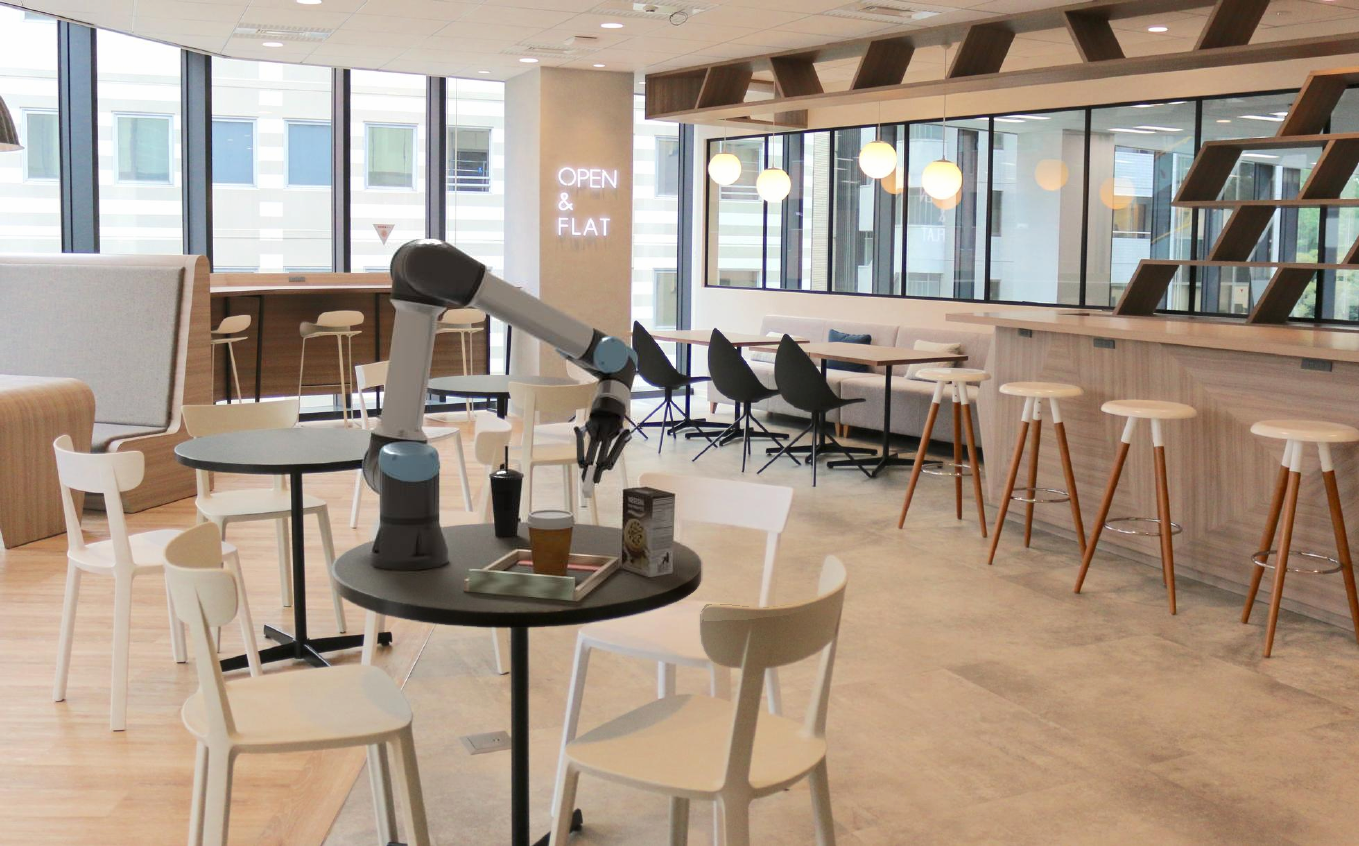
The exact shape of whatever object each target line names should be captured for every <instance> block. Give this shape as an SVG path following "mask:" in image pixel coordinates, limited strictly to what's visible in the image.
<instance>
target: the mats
mask: <svg viewBox="0 0 1359 846" xmlns="http://www.w3.org/2000/svg"><path fill="white" fill-rule="evenodd" d="M516 565H517V566H528V567H533V561H532V560H526V559H523V560H519V561H517V563H516ZM601 567H603V566H601V565H588V564H576V563H569V564H568V567H567V570H577V571H587V572H588V571H590V572H592V571H593V572H596V571H598V570H599V569H600V568H601Z"/></svg>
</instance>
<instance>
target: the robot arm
mask: <svg viewBox="0 0 1359 846" xmlns="http://www.w3.org/2000/svg"><path fill="white" fill-rule="evenodd" d="M389 274H390V280H391V281H392V282H391V287H390V288H391V290H390V297H389V302H390V303H391V304H392V306H393V307H394V309H395V315H394V324H393V329H392V336H391V337H392V338H391V344H390V351H389V358H388V363H387V364H388V365H387V373H386V378H385V379H386V380H385V384H384V385H385V386H384V393H383V399H382V406H381V414H380V421H379V424H378V425H376V426H375V427H374V428H373V429H371V430H370V431H371V432H370V438H369V446H368V448H367V449H366V451H365V453H364V456H363V458H362V462H361V467H362V469H361V470H362V475H363V477H364V480H365V481H366V484H367V485H368V487H370V488H371V490H372V491H373V492H374V493H376V494H378V495H379V527H378V529H377V533H376V535H375V539H374V541H373V545H372V548H371V552H370V563H371V565H372V566H374V567H377V568H380V569H383V570H390V571H391V570H393V571H417V570H428V569H432V568H437V567H438V568H439V567H441V566H443V565H445V564H447V563H448V562H449V547H448V544H447V542H446V538H445V536H444V532H443V529H442V527H441V523H440V469H441V461H440V455H439V451H438V450H437V448H435V447H434V446H433V445H430V444H428V441H429V440H428V439H429V438H428V435H426V433H425V432H424V431H423V423H424V415H425V410H426V409H425V407H426V403H427V394H428V386H429V381H430V380H429V379H430V374H431V367H432V360H433V353H434V348H435V347H434V346H435V338H436V332H437V326H438V325H437V324H438V318H439V316H440V315H441V314H442V313H443V312H445V311H446V310H447V309H448V307H447V306H448V302H451V303H453V304H455V305H457V306H459V307H461V308H463V309H465V308H469V307H473V308H474V309H476V310H478V311H480V312H483V313H484V314H486V315H487V316H490V317H492V318H494V319H496V320H499V321H500V322H502V323H504V324H505V325H508V326H510V327H512V328H514V329H516V330H517V331H520V332H522V333H524V334H526V335H528V336H530V337H532V338H534V339H536V340H538V341H540V342H542V343H544V344H546V345H548V346H550V347H552V348H554V350H555V352H556V353H557V354H558V355H560V356H561V357H563V358H564V360H567V361H568V362H570V363H572V364H573V365H576V366H577V367H578V368H580V369H582V370H584V371H585V372H587V373H589V375H591V376H592V377H594V378H596V379H597V380H598V382H597V386H596V387H597V388H596V390H595V392H594V398H593V401H592V405H591V408H590V413H589V417H588V419H587V421H586V422H585V423H584V425H582V426H580V427H579V426H574V427H573V431H574V434H575V439H576V462H577V465H578V467H579V469H581V470H582V472H581V477H580V478H581V480H582V483H583V486H582V490H581V491H582V494H583V496H584V498H585V499H592V497H593V493H594V490H595V486H596V484H599V483H601V479H602V475H603V472H604V471H607V470H608V471H612V470H613V468H614V466H615V465H616V462H617V461H618V459H619V457H620V455H621V453H622V452H623V450H624V448H625V446H626V445H627V443H628V442H630V441H631V440H632V438H633V437H632V433H631V429H630V428H624V422H625V417H626V412H627V408H628V404H629V400H630V396H631V392H632V389H633V388H632V387H633V384H634V380H635V376H636V375H637V370H638V365H639V364H638V362H639V361H638V360H639V357H638V354H637V352H636V351H635V350H634V349H633V348H632V347H630V346H629V345H626V343H625V342H624V341H623V340H622V339H620V338H618V337H617V336H613V335H609V334H606V333H605V332H602V331H601V330H598V329H596V328H595V327H593V326H591V325H589V324H587V323H585V322H583V321H582V320H580V319H578V318H576V317H574V316H572V315H570V314H569V313H566V312H565V311H562V310H560V309H559V308H557V307H555V306H553V305H551V304H550V303H547V302H545V301H543V300H541V299H539V298H538V297H536V296H533V295H532V294H530V293H529V292H526V291H524V290H522V289H521V288H519V287H517V286H515V285H513V284H511V283H509V282H507V281H505V280H504V279H501V278H499V277H498V276H496V275H494V274H492V273H490V272H489V270H488V268H487V265H485V263H482V262H480V261H478V260H477V259H474V258H473V257H471V256H470V255H468V254H467V253H465V252H464V251H462V250H460V249H458V248H457V247H456V246H454V245H452V244H451V243H449V242H447V241H444V240H441V239H439V238H437V239H436V238H426V239H425V238H423V239H421V238H417V239H412V240H410V241H407V242H405V243H404V244H402V245H401V246H400V247H399V248H398V249H396V251H395V252H394V254H392V257H391V260H390V263H389ZM586 433H587V434H588V435H589V437H590V438H589V439H590V440H589V444H588V447H587V451H586V455H585V439H584V438H585V437H586ZM615 439H616V440H615ZM614 440H615V442H614V443H613V445H612V441H614ZM600 443H601V444H600ZM611 445H612V447H611ZM598 447H599V448H598ZM610 448H611V449H610ZM598 449H599V451H598ZM597 453H598V454H597ZM596 456H597V458H596ZM595 459H596V460H595ZM594 463H595V465H594Z"/></svg>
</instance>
